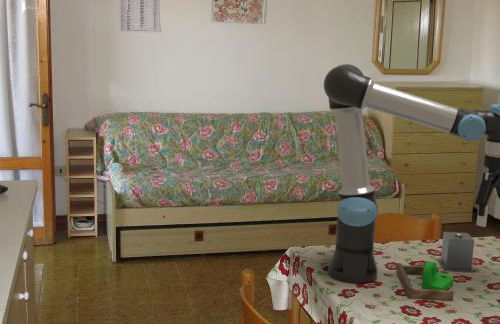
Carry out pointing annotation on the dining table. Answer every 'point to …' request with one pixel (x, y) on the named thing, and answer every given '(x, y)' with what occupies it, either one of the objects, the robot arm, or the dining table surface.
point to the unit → (457, 252)
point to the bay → (420, 293)
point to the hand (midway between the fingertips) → (490, 222)
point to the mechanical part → (435, 278)
